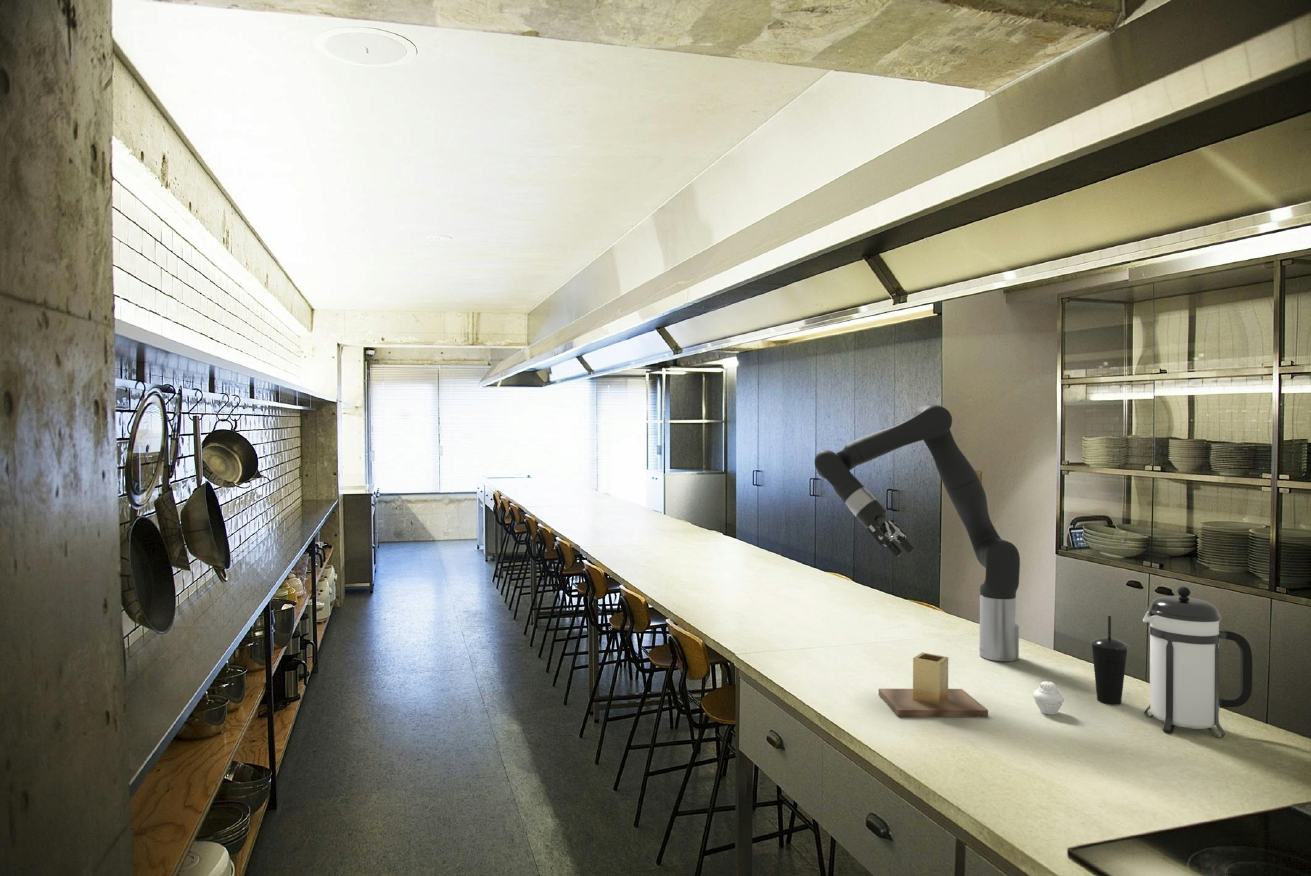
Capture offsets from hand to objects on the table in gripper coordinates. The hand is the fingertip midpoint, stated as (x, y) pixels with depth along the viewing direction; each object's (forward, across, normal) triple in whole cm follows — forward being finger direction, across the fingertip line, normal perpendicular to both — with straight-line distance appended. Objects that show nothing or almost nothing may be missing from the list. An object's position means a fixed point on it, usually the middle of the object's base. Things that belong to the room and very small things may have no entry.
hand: (906, 552), depth 201 cm
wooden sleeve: (+32, -25, +10) cm, 41 cm away
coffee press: (+66, -1, -22) cm, 70 cm away
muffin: (+48, -12, -5) cm, 50 cm away
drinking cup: (+55, +5, -11) cm, 56 cm away
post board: (+33, -25, +11) cm, 42 cm away
